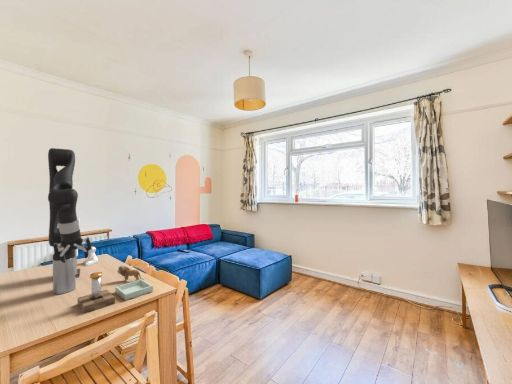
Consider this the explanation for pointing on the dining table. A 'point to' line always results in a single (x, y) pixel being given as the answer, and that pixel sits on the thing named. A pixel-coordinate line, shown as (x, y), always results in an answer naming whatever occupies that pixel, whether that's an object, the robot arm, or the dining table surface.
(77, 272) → the tall grey pillar
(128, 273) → the lion figurine
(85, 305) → the block
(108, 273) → the dining table surface
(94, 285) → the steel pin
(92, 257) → the sitting furry creature
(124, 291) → the tray
